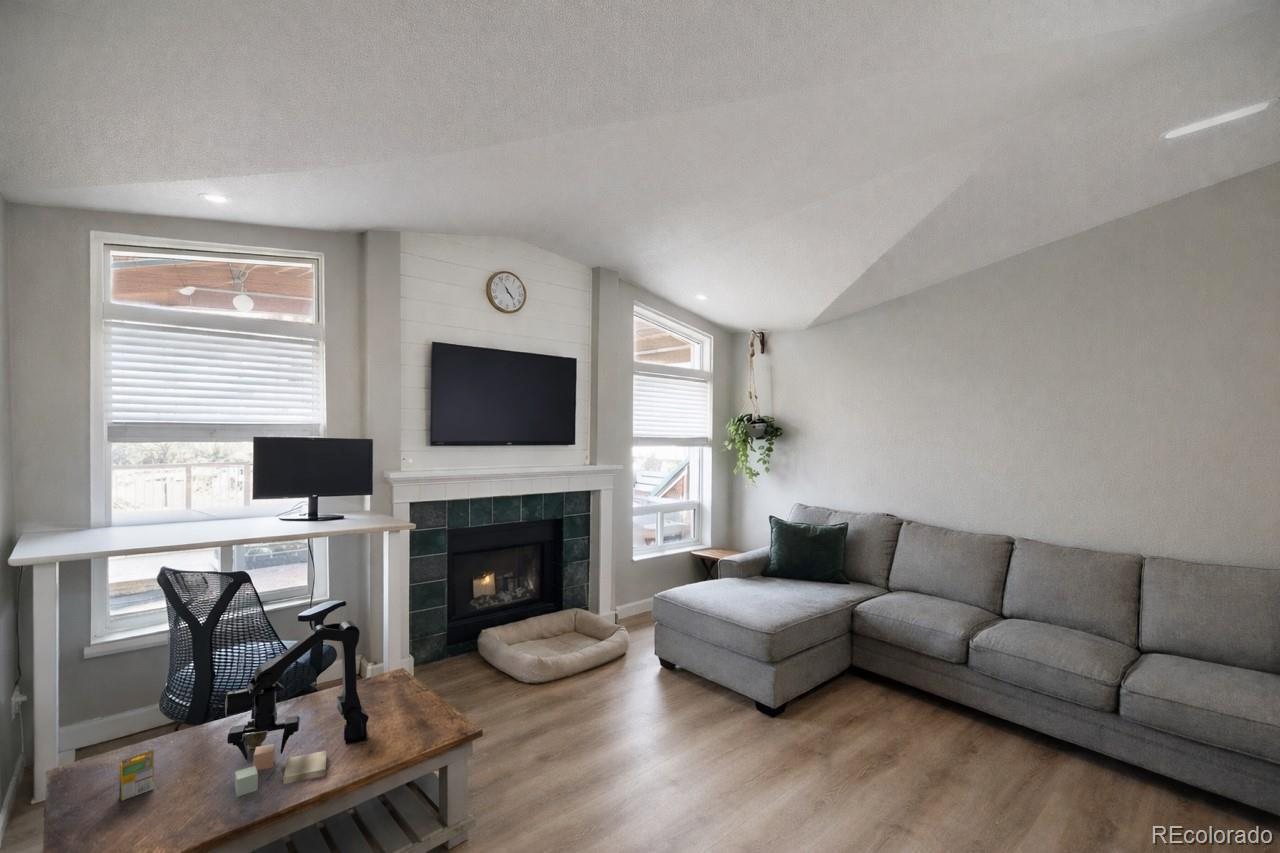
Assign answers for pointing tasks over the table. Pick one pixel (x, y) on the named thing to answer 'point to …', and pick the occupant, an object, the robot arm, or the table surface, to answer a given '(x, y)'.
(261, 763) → the terracotta cube
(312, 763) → the plinth
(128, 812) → the table surface
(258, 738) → the cup
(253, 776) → the sage cube
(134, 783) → the crayon box
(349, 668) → the robot arm
